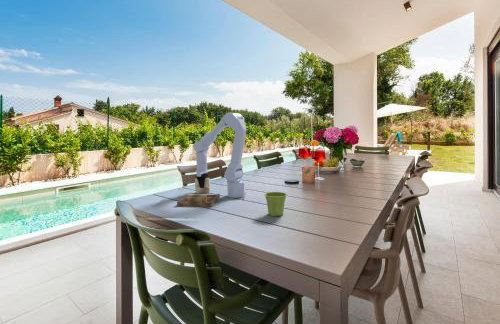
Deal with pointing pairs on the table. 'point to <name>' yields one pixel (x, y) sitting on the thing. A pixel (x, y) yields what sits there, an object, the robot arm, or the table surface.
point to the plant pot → (275, 203)
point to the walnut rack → (210, 202)
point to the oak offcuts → (197, 198)
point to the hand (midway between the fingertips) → (202, 187)
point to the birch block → (206, 186)
